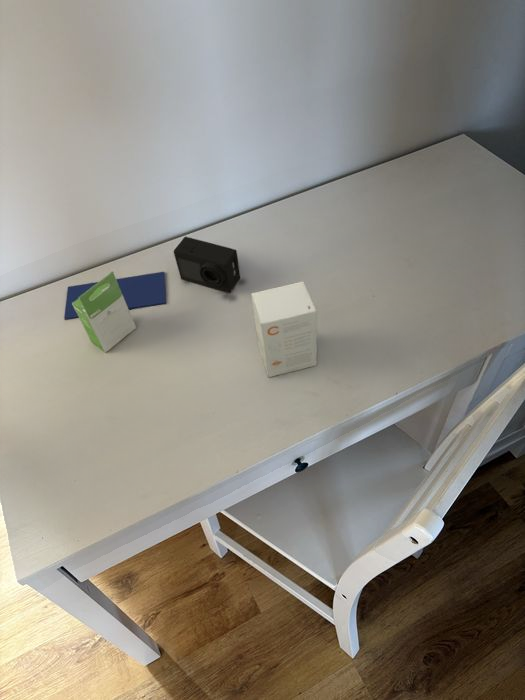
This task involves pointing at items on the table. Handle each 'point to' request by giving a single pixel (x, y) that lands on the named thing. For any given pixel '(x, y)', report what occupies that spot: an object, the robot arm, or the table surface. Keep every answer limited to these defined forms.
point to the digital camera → (207, 264)
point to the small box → (285, 328)
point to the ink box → (104, 313)
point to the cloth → (126, 292)
